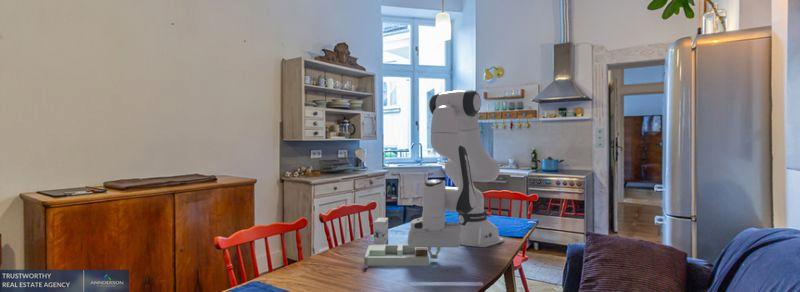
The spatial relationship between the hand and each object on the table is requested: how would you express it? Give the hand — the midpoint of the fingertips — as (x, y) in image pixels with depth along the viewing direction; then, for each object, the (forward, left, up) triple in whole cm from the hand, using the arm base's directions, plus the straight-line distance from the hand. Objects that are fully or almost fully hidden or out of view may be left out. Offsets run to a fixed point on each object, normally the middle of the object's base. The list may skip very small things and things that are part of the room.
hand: (433, 258), depth 148 cm
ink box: (+7, -32, -2) cm, 33 cm away
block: (+4, -3, -1) cm, 5 cm away
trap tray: (+11, -10, -2) cm, 15 cm away
